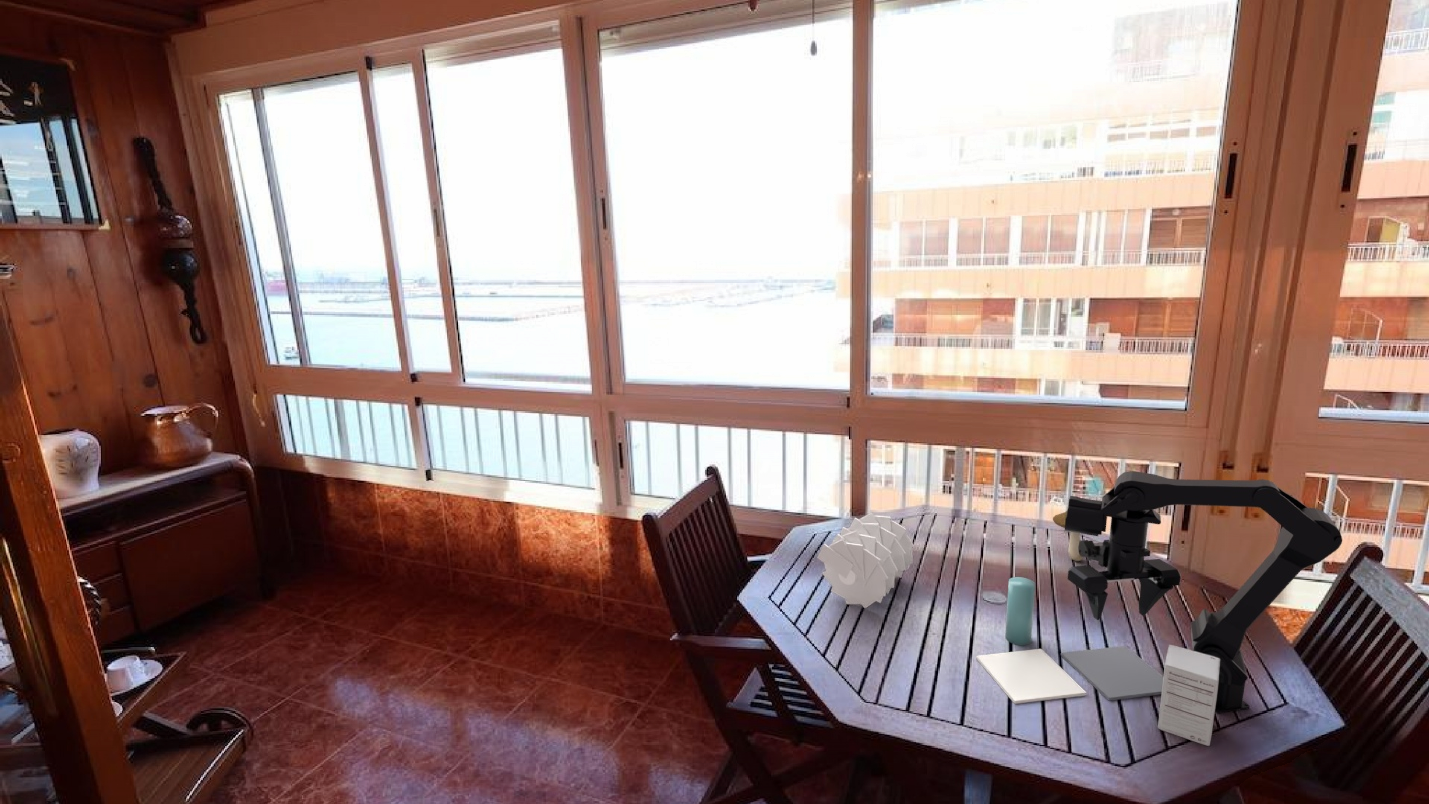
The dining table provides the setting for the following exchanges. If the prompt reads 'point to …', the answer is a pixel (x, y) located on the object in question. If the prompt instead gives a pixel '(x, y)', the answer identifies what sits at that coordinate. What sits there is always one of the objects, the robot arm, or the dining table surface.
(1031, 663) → the pale tile
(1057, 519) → the mushroom
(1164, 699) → the supplement box
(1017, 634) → the teal cylinder
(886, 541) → the spiral staircase
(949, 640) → the dining table surface
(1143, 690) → the slate tile
